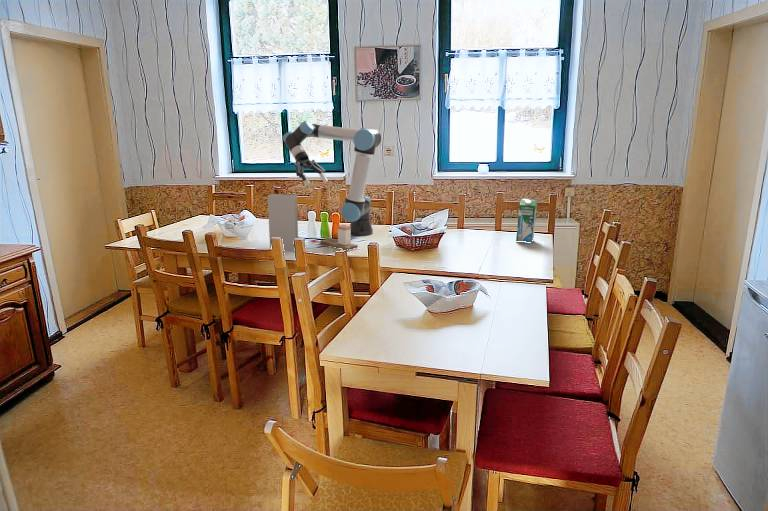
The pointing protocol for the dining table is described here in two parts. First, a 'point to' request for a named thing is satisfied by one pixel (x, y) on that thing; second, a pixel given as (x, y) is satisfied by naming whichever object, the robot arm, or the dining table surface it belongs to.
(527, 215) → the milk carton
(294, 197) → the tall grey block
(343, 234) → the stub
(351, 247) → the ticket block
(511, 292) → the dining table surface
